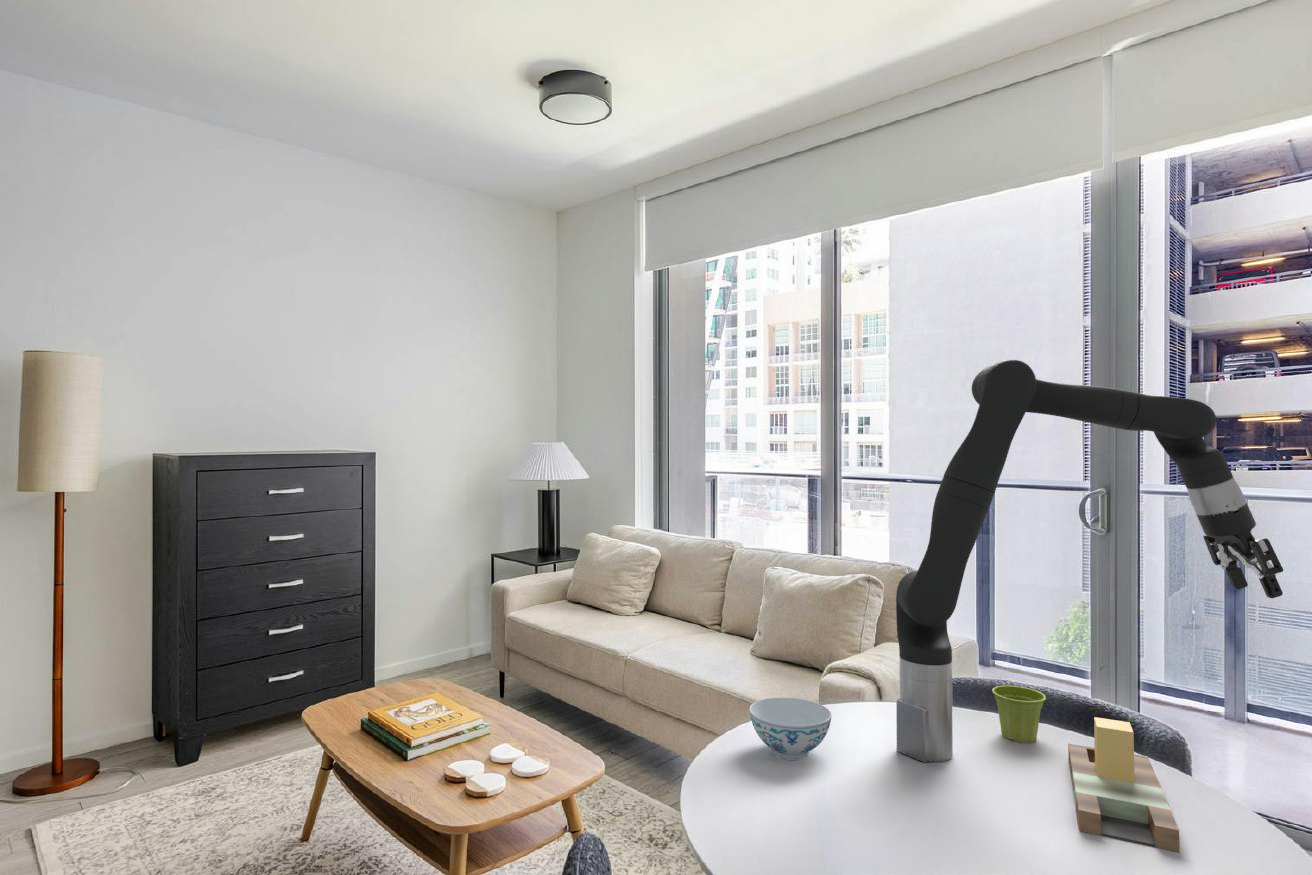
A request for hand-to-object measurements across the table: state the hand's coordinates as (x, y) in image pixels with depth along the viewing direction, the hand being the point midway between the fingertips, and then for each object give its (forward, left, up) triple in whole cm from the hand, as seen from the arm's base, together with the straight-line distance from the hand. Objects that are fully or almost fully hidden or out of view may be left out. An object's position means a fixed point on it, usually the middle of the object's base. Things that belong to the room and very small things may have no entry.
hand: (1257, 592), depth 125 cm
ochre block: (-31, +10, -28) cm, 43 cm away
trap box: (-33, +8, -31) cm, 47 cm away
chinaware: (-66, +49, -32) cm, 88 cm away
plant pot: (-22, +31, -32) cm, 50 cm away
